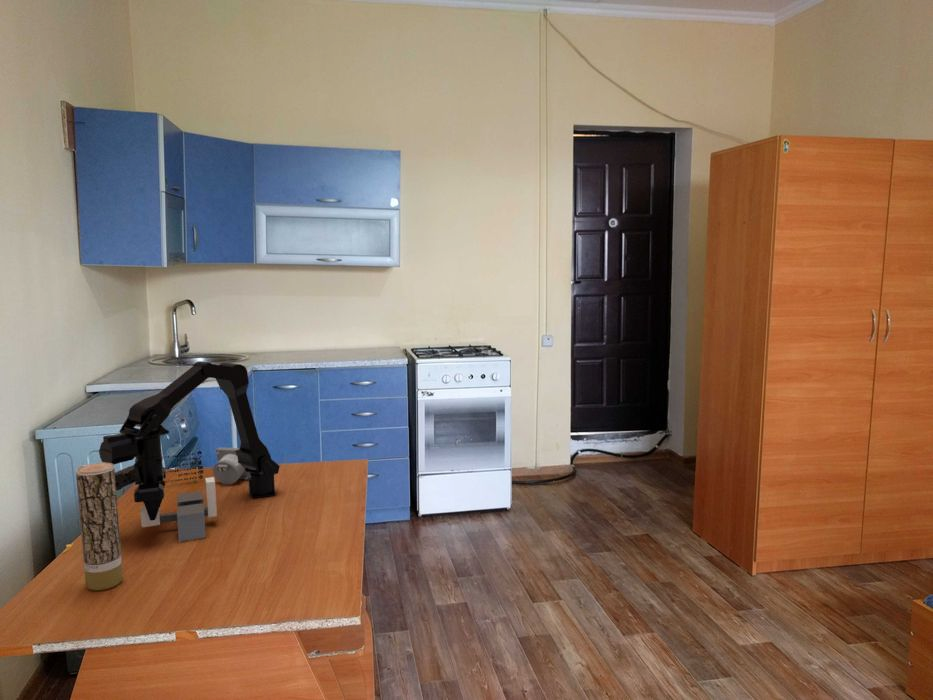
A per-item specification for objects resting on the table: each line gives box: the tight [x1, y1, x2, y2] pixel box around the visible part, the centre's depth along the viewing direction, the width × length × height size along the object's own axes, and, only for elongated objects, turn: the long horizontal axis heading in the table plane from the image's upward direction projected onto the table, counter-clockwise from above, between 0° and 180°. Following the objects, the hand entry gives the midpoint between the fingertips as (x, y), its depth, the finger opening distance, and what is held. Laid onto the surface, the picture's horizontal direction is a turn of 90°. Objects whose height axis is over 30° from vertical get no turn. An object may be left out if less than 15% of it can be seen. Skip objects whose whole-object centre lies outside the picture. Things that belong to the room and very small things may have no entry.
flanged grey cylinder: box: [162, 446, 250, 485], centre depth 197 cm, size 27×11×10 cm, turn 115°
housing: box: [176, 490, 207, 542], centre depth 166 cm, size 6×16×6 cm, turn 23°
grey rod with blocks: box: [140, 476, 218, 528], centre depth 164 cm, size 17×4×9 cm, turn 114°
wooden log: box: [75, 462, 124, 591], centre depth 136 cm, size 7×7×25 cm
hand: (153, 516), depth 162 cm, fingers closed on grey rod with blocks, 4 cm apart
